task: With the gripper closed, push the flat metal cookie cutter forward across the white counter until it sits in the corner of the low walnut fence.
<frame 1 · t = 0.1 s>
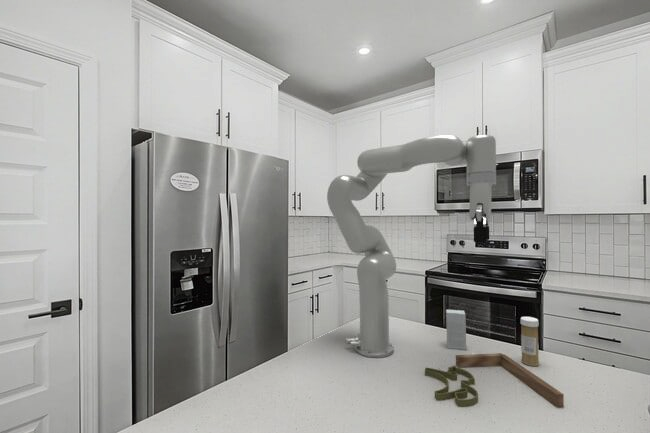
hand: (481, 240, 92), 37 cm above the countertop, tool pointing down, fingers open, 9 cm apart
cookie cutter: (453, 389, 85), on the countertop
skincare box: (456, 347, 111), on the countertop
walnut fence: (500, 384, 86), on the countertop
sprinkles bottle: (529, 363, 98), on the countertop
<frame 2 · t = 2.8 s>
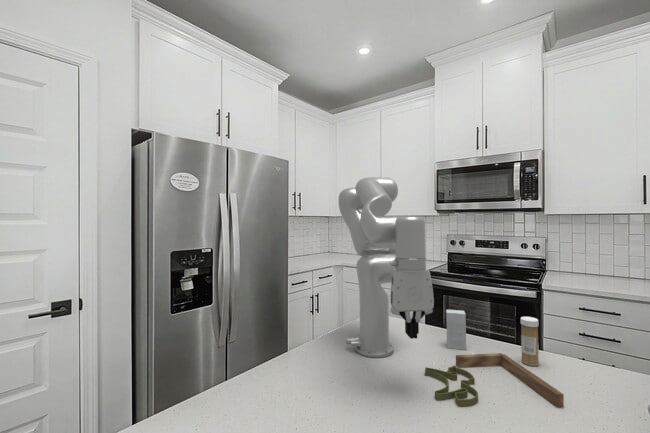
hand: (412, 336, 84), 14 cm above the countertop, tool pointing down, fingers closed
nothing on the countertop moved.
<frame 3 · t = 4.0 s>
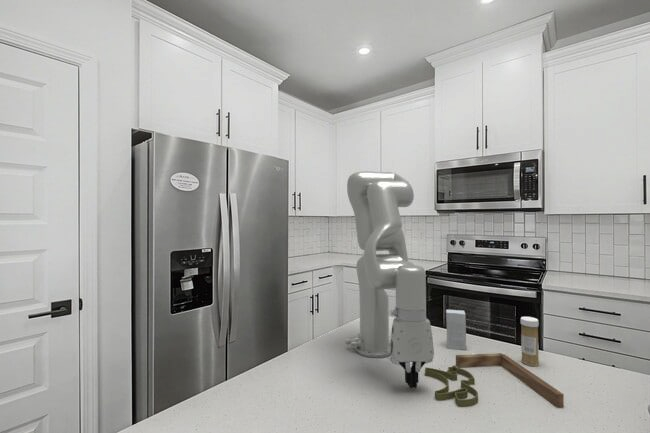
hand: (411, 385, 84), 1 cm above the countertop, tool pointing down, fingers closed
nothing on the countertop moved.
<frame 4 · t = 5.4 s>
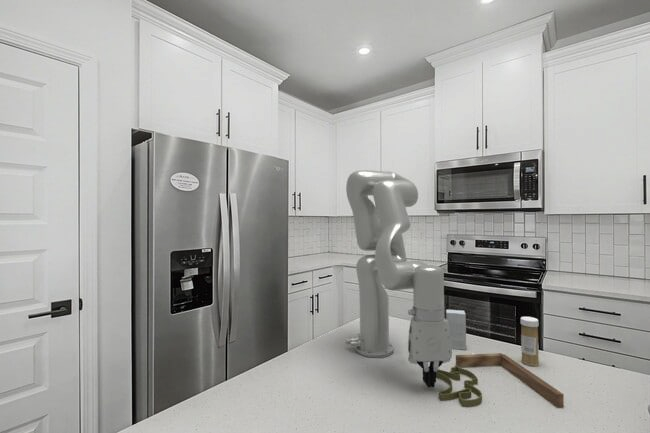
hand: (429, 384, 84), 1 cm above the countertop, tool pointing down, fingers closed
cookie cutter: (456, 389, 85), on the countertop, touching gripper
everything else where it was.
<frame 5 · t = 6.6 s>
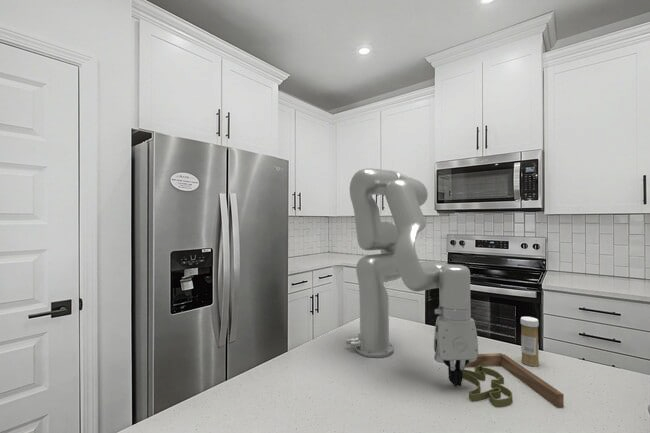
hand: (455, 383, 85), 1 cm above the countertop, tool pointing down, fingers closed
cookie cutter: (483, 389, 85), on the countertop, touching gripper
everything else where it was.
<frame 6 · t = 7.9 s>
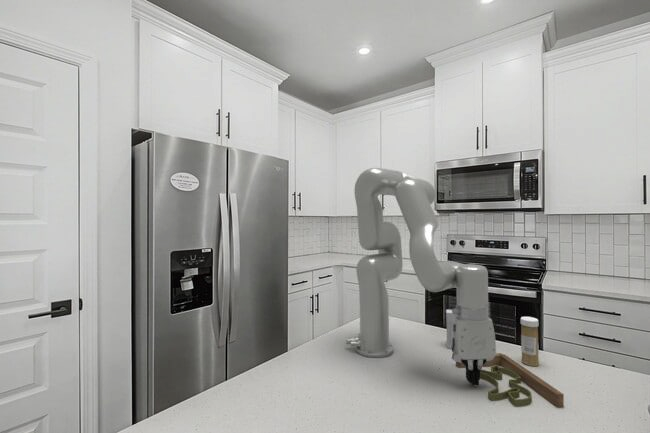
hand: (472, 382, 85), 1 cm above the countertop, tool pointing down, fingers closed
cookie cutter: (501, 389, 85), on the countertop, touching gripper
everything else where it was.
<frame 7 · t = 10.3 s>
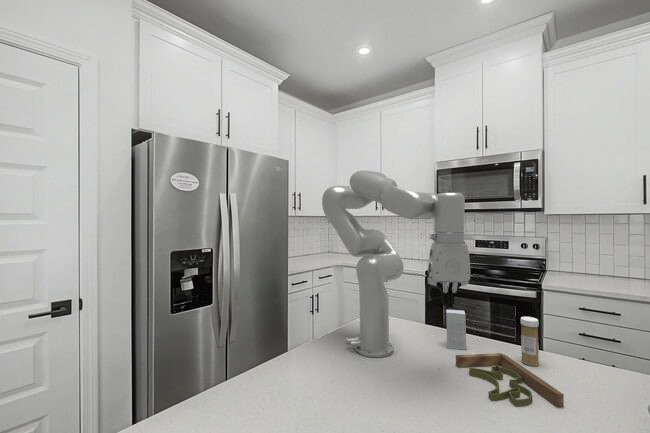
hand: (447, 306, 89), 20 cm above the countertop, tool pointing down, fingers closed
cookie cutter: (501, 388, 85), on the countertop
everything else where it was.
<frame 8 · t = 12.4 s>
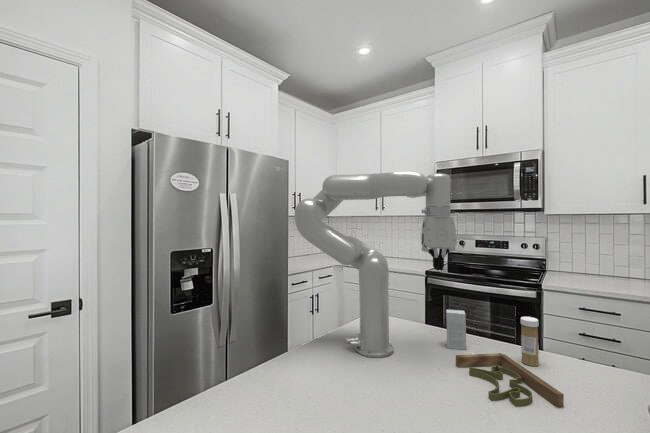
hand: (438, 269, 105), 27 cm above the countertop, tool pointing down, fingers closed
nothing on the countertop moved.
at the end: cookie cutter inside the target area (1.2 cm from its centre), on the countertop; cookie cutter moved 12.7 cm from its start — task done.
